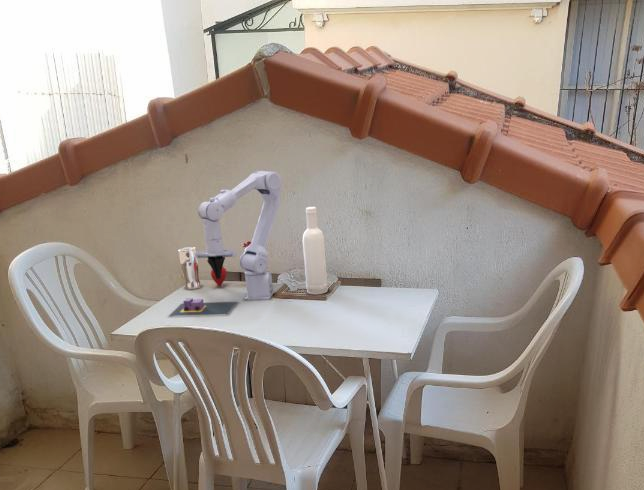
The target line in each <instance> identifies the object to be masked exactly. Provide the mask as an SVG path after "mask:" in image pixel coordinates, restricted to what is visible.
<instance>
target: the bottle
mask: <svg viewBox="0 0 644 490" xmlns="http://www.w3.org/2000/svg"><path fill="white" fill-rule="evenodd" d="M317 213H318V211H317V207H316V206H307V207H306V208H305V216H306V227H307V228H306V229H305V231H304V232H303V235H302V251H303V260H304V261H303V263H304V272H305V273H304V274H305V286H306V293H307V294H309V295H323V294H325V293H328V291H329V289H327V288H328V287H329V285H328V274H327V273H328V272H327V260H326V258H327V257H326V246H325V245H326V244H325V235H324V233H323V231H322V230H321V229H320V228H319V227H318V215H317ZM326 289H327V290H326ZM324 290H325V291H324Z"/></svg>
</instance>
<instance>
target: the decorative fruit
mask: <svg viewBox="0 0 644 490" xmlns="http://www.w3.org/2000/svg"><path fill="white" fill-rule="evenodd" d="M210 269H211V270H210V276H211V278H212V280H213V282H215V284H216V285H217V286H218V287H222V285H223V283H224V281H225V279H226V277H227V269H226V268H225V267H224V265H223V267H222V274H221V278H220V279H216V276H215V274H214V271H213V269H212V268H211V267H210Z"/></svg>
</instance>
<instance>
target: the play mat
mask: <svg viewBox="0 0 644 490" xmlns="http://www.w3.org/2000/svg"><path fill="white" fill-rule="evenodd" d="M237 302H238V301H221V302H219V301H217V302H203V303H204V308H203V309H202V310H198V311H196V310H192V311H184V308H183V307H184V303H181V304H179V306H178V307H177V308H176V309H175V310H174V311H172V313H170V314H169V317H176V316H178V317H179V316H206V315H207V316H209V315H213V316H214V315H228V314H229V312H230V311H231V310H232V309H233V308H234V307H235V306H236V304H237Z"/></svg>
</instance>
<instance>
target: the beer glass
mask: <svg viewBox="0 0 644 490" xmlns="http://www.w3.org/2000/svg"><path fill="white" fill-rule="evenodd" d="M195 252H197V248H196V247H194V246H188V247H187V246H186V247H181V248H179V249H178V257H179V262H180V267H181V270H182V272H183V275H184V279H185V289H186V290H197V289H200V288H201V287H202V284H201V281H200V277H199V258H197V259H195V254H194V253H195Z"/></svg>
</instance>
